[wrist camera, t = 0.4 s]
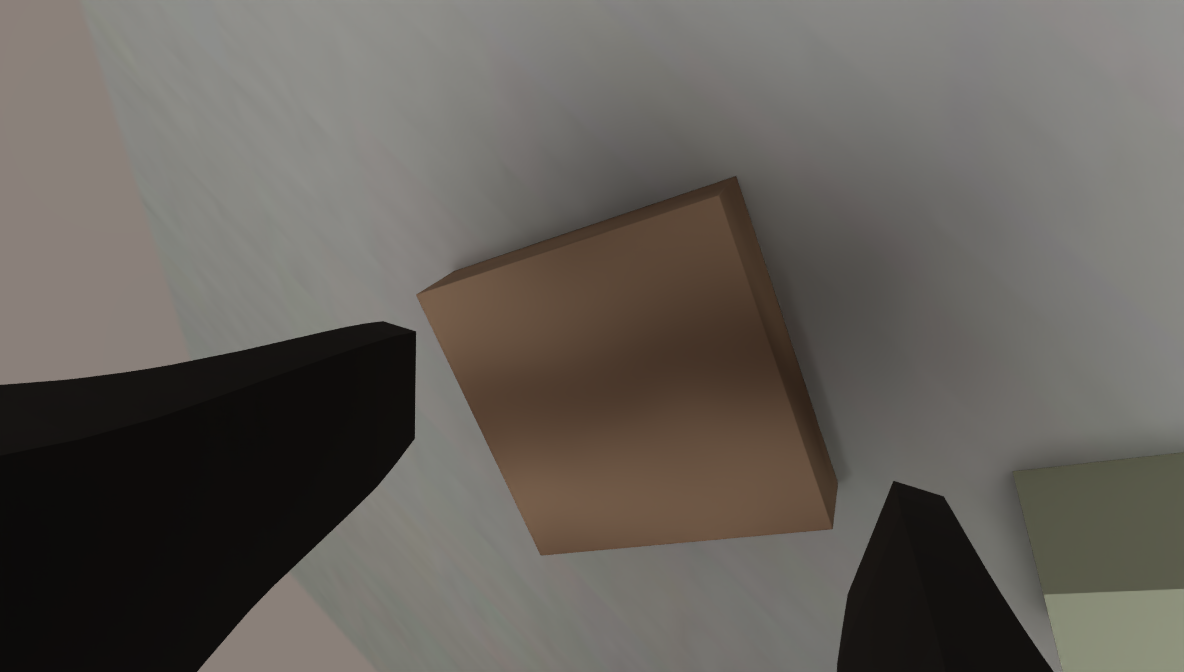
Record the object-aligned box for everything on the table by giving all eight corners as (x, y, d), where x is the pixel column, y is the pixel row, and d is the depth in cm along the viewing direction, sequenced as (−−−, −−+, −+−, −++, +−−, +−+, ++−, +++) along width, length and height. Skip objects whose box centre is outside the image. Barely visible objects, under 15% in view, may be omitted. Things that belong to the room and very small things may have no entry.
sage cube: (1263, 603, 17) (1370, 776, 13) (1047, 610, 19) (1085, 761, 15) (1240, 443, 16) (1348, 581, 12) (1011, 469, 18) (1043, 594, 14)
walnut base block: (839, 473, 20) (832, 529, 18) (571, 507, 24) (540, 555, 22) (739, 172, 18) (719, 195, 16) (461, 266, 22) (416, 294, 20)
